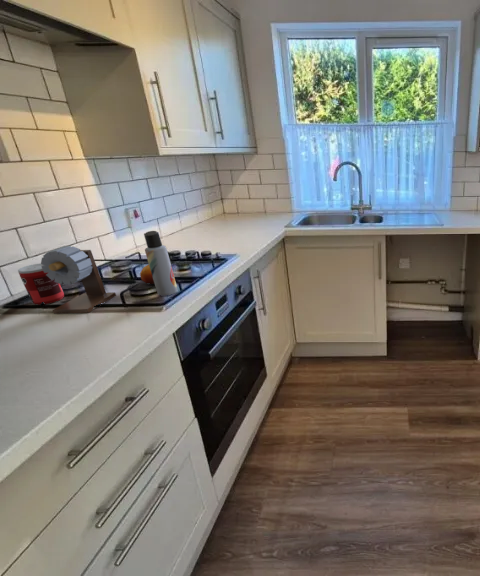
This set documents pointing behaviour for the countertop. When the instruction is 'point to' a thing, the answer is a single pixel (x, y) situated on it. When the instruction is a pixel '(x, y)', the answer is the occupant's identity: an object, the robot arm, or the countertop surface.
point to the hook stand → (92, 287)
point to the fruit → (147, 275)
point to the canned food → (40, 285)
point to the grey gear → (67, 265)
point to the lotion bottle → (160, 264)
